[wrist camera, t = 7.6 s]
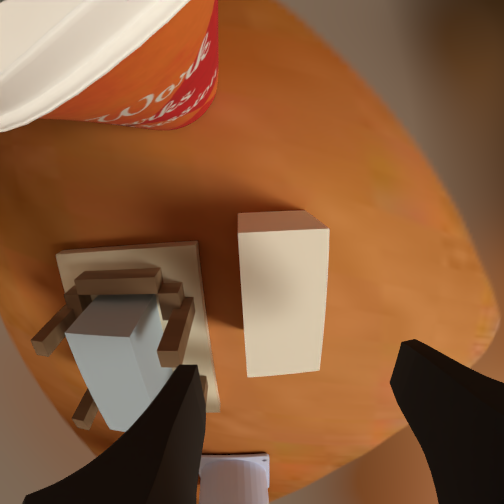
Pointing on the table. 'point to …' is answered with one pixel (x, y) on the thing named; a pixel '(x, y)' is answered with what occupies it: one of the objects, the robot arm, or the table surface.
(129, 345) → the grey block
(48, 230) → the table surface
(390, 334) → the table surface
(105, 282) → the jig
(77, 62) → the paper cup
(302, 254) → the cream white block
